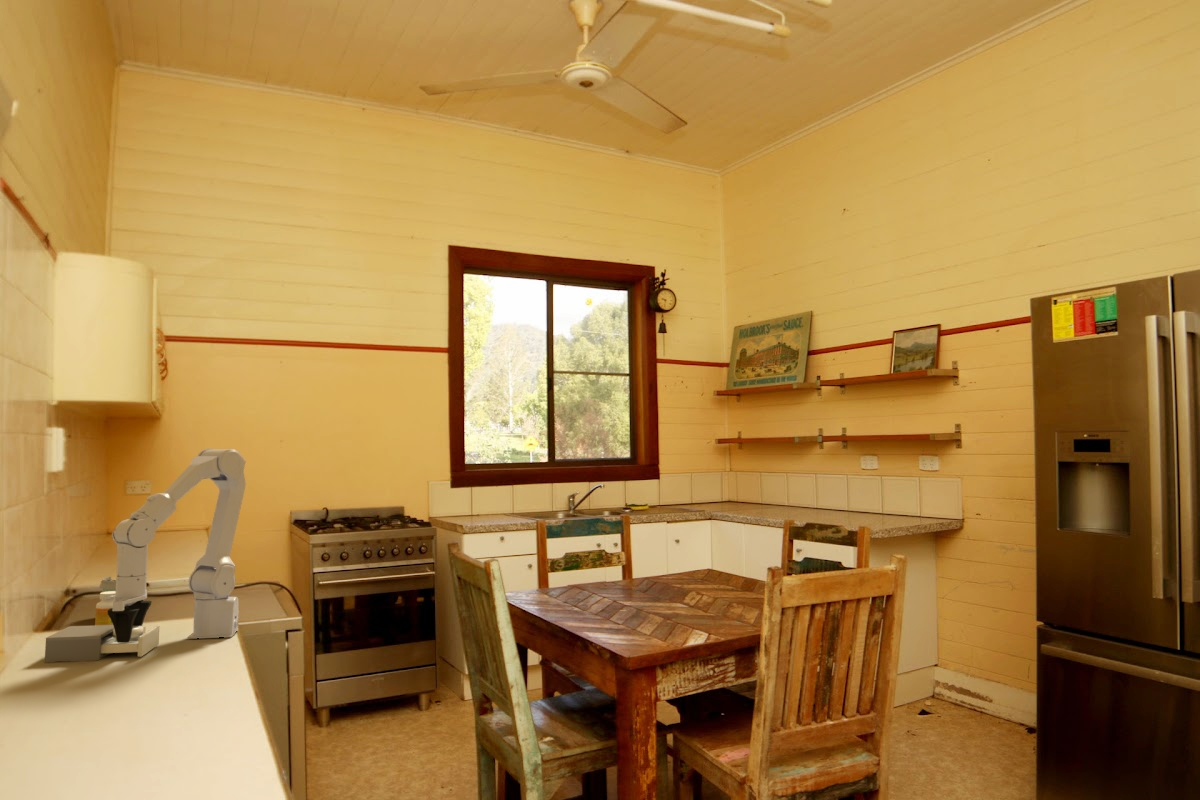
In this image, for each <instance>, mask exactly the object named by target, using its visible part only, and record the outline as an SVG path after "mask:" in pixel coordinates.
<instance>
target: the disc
mask: <svg viewBox="0 0 1200 800" xmlns="http://www.w3.org/2000/svg"><path fill="white" fill-rule="evenodd" d="M143 627H144V625H142V626H133V627H132V633H131V638H133V637H138V636H141V635H143ZM113 638H116V634H115V629H113Z"/></svg>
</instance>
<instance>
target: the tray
mask: <svg viewBox="0 0 1200 800" xmlns="http://www.w3.org/2000/svg"><path fill="white" fill-rule="evenodd" d="M159 644H160V625H155V626H154V627H152V628H150V629H149V630H148V631H145V633H144V634H143V635H141V636H138V637H133V638H130V641H129V642H121V643H118V642H117V638H113V636H107V637H105V638H104V639H102V640H101V653H109V654H113V653H115V654H117V653H118V654H119V653H137V657H143V656H144V655H146V654H147V653H149V652H150V651H152V649H154V648H155V647H157V646H158V645H159Z"/></svg>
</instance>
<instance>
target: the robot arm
mask: <svg viewBox="0 0 1200 800" xmlns="http://www.w3.org/2000/svg"><path fill="white" fill-rule="evenodd" d="M246 462H247V461H246V459H245V458H244V457H243V455H242V454H241V452H240V451H238V450H237V449H234V448H228V449H213V448H206V449H202V450H201V451H200V452H198V455H196V456H194V457H193V458H192V459H191V461H190V464H189V465H188V467H186V469H184V471H183V472H182V473H181V474H180V475H179V476H178V477H177V478H176V479H175V480H174V481H173V482H172V483H171V484H170V485H169V487H168V488H167V489H166V490H165V491H164V492H162V493H161V492H157V493H154V494H152V495H149V496H147V498H146V499H145V500H146V502H145V503H143V505H142V506H141V507H139V509H137V510H136V511H133V512H131V514H130V518H128V519H124V520H122V521H120V522H118V524H117V525H116V527H115V529H114V531H112V533H111V537H112V540H113V541H114V543H115V544H116V552H117V556H116V576H115V577H116V578H115V580H116V594H115V595H113V596H110V597H109V600H114V602H113V608H111V609H109V610H108V615H109V617H110V619H111V620H112V623H113V625H114V629H115V634H116V638H117V642H118V643H121V642H129V641H130V638H131V633H132V627H133V626H143V624H144V620H145V617H146V615H147V612H148V610H149V608H150V607H151V605H152V600H146V599H148V590H147V578H148V574H147V573H148V555H149V553H148V552H149V551H148V550H149V544H150V543H151V542H153V541H154V539H155V537H156V536H155V535H156V532H157V530H158V529H159V528H160V527H161V525H162V524H163V523H164V522H166V521H167V520H168V519H169V517H171V516H172V515H173V513H175V512H176V511H177V503H178V502H179V501H180V500H181V499H182V498H183V497H184V496H185V495H186V494H188V493H189V492H190V491H191V490H192V489H193V488H194V487H196V486H197V485H198V484H200V482H201V481H203V480H207V479H209V480H211V481H212V482H213V483H214V484H215V485H216V487H217V488H218V489H219V493H218V496H217V500H216V504H215V505H216V506H215V509H214V514H213V517H212V518H213V519H212V522H211V525H210V526H211V528H210V532H209V535H208V539H207V544H206V548H205V553H204V555H203V556H202V557H200V558H199V559H198V560H197V561H196V564H195V568H194V570H193V571H192V572H191V574H190V575H189V578H188V587H189V590H190V591H191V592H192V593H193V597H194V602H193V603H194V609H193V632H192V633H190V634H189V635H188V636H187V637H186V638H187V640H193V639H194V640H195V639H197V638H199V639H219V637H224V638H232V637H233V636H234V635H235V634H236V633H237V632H238V631H239V614H240V612H239V610H240V608H239V607H240V605H239V604H240V603H239V602H240V601H239V598H238V596H230V595H231V593H232V592H233V591H234V589H235V586H236V575H235V571H236V565H235V563H234V562H233V560H232V558H231V553H232V550H233V549H232V548H233V544H234V539H235V536H236V531H237V526H238V522H239V518H240V517H239V516H240V512H241V509H242V503H243V499H244V494H245V490H246V485H247V484H246V479H245V478H246V477H245V473H244V472H245V471H244V470H245V465H246ZM236 631H237V632H236ZM235 632H236V633H235Z"/></svg>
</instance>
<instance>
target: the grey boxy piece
mask: <svg viewBox="0 0 1200 800" xmlns="http://www.w3.org/2000/svg"><path fill="white" fill-rule="evenodd" d="M113 629H114V625H95V624H94V625H71V626H68V627H65V628H64V629H61V630H59V631H57V632H55V633H53V634H50V635H49V636H47V637H45V648H44V652H45V653H44V663H45V662H47V663H54V662H53V661H71V662H86V661H87V662H89V661H90V662H91V661H92V662H93V661H100V660H101V659H103V658H104V657H106V656H108V655H109V654H110V653H101V640H102V639H104V638H105V637H107V636H113Z"/></svg>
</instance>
